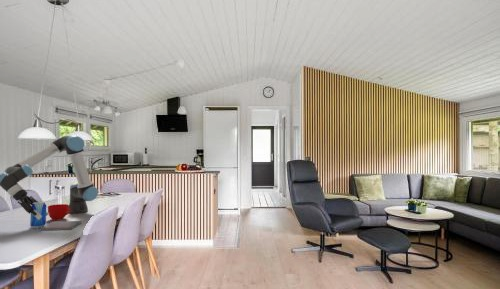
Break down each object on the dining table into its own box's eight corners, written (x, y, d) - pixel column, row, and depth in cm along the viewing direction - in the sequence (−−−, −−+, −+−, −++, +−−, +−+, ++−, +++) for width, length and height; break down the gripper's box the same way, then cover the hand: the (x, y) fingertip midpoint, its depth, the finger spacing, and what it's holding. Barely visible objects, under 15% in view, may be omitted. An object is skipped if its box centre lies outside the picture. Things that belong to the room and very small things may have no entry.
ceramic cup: (62, 222, 209) (63, 208, 210) (42, 220, 213) (43, 206, 213) (76, 218, 222) (77, 205, 222) (57, 216, 226) (58, 203, 226)
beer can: (29, 226, 196) (30, 202, 197) (44, 224, 202) (45, 201, 202) (30, 229, 190) (31, 204, 190) (46, 227, 195) (47, 203, 196)
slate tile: (53, 223, 205) (53, 221, 205) (81, 223, 208) (81, 220, 208) (40, 230, 187) (40, 228, 187) (71, 229, 191) (71, 227, 191)
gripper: (22, 194, 204) (47, 217, 207) (2, 199, 183) (30, 224, 186) (31, 186, 205) (55, 209, 208) (13, 190, 184) (40, 216, 187)
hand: (43, 216), depth 197 cm, fingers closed on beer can, 8 cm apart
